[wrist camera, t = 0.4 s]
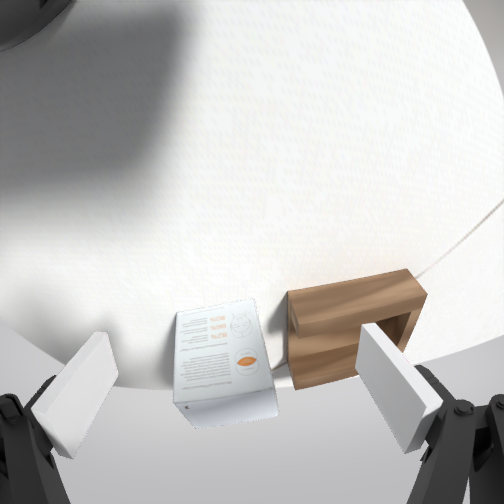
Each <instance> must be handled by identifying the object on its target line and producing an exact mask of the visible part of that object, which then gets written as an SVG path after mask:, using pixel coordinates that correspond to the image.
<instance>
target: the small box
mask: <svg viewBox="0 0 504 504" xmlns="http://www.w3.org/2000/svg"><path fill="white" fill-rule="evenodd" d="M173 403H174V404H175V406H176V407H177V408H178V409H179V411H181V413H182V414H183V415H184V417H185V418H186V419H187V420H188V421H189V422H190V423H191V425H192V426H193V427H194V428H195V429H196V428H206V427H214V426H223V425H230V424H236V423H243V422H249V421H254V420H259V419H265V418H270V417H275V416H278V415H279V409H278V402H277V396H276V391H275V385H274V381H273V377H272V373H271V368H270V364H269V360H268V355H267V351H266V347H265V342H264V338H263V334H262V329H261V325H260V321H259V316H258V312H257V308H256V303H255V299H254V298H250V299H245V300H240V301H235V302H230V303H225V304H220V305H215V306H209V307H204V308H199V309H194V310H188V311H183V312H178V313H177V315H176V333H175V354H174V377H173Z"/></svg>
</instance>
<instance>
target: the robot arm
mask: <svg viewBox="0 0 504 504" xmlns="http://www.w3.org/2000/svg"><path fill="white" fill-rule="evenodd" d="M70 1H71V0H0V51H2V50H6V49H9V48H11V47H14V46H16V45H18V44H20V43H22V42H23V41H25V40H27V39H28V38H30V37H31V36H33V35H34V34H36V33H37V32H38V31H40V30H41V29H42V28H43V27H45V26H46V25H47V24H48V23H49V22H50V21H52V20H53V19H54V18H55V17H56V16H57V15H58V14H59V13H60V12H61V11H62V10H63V9H64V8H65V7H66V6H67V5H68V4H69V3H70ZM355 369H356V370H357V372H358V374H359V375H360V377H361V379H362V380H363V382H364V384H365V385H366V387H367V389H368V391H369V392H370V394H371V396H372V398H373V399H374V401H375V403H376V404H377V406H378V408H379V410H380V411H381V413H382V415H383V417H384V418H385V420H386V422H387V424H388V425H389V427H390V429H391V431H392V432H393V434H394V436H395V438H396V440H397V441H398V443H399V445H400V447H401V449H402V451H403V452H404V454H406V453H409V452H412V451H415V450H417V449H420V448H421V446H422V444H423V442H424V440H426V441H427V443H428V444H429V446H428V448H427V450H426V451H425V453H424V455H423V457H422V458H421V460H420V461H423V462H422V465H421V468H420V470H419V473H418V476H417V479H416V481H415V484H414V487H413V489H412V492H411V494H410V497H409V499H408V501H407V504H462V502H463V499H464V494H465V490H466V486H467V481H468V477H469V486H470V504H504V394H498V395H495V396H493V397H492V398H491V400H490V402H489V404H488V405H484V406H477V407H475V406H474V405H473V404H472V403H471V402H469V401H466V400H456V399H454V397H453V396H452V395H451V394H450V392H449V391H448V390H447V389H446V388H445V387H444V386H443V385H442V384H441V383H439V380H438V379H437V378H436V377H434V375H433V374H432V373H431V371H430V370H429V369H427V368H425V367H423V366H422V365H416V366H413V365H412V364H411V362H410V361H409V360H408V359H407V358H406V357H405V356H404V354H403V353H402V352H401V351H400V350H399V349H398V348H397V347H396V346H395V344H394V343H393V342H392V341H391V340H390V339H389V338H388V337H387V335H386V334H385V333H384V332H383V331H382V330H381V329H380V328H379V327H378V326H377V324H376V323H369V324H362V326H361V334H360V341H359V347H358V353H357V359H356V365H355ZM118 375H119V373H118V370H117V366H116V363H115V360H114V356H113V353H112V349H111V345H110V341H109V338H108V334H107V332H94V333H93V335H92V336H91V337H90V338H89V339H88V340H87V341H86V342H85V344H84V345H83V346H82V347H81V348H80V349H79V351H78V352H77V353H76V354H75V355H74V356H73V357H72V359H71V360H70V361H69V362H68V363H67V365H66V366H65V367H64V368H63V369H62V370H61V372H60V373H59V374H58V375H57V376H56V375H54V376H52V377H51V378H49V379H48V380H46V381H45V383H44V384H43V385H42V386H41V388H40V389H39V390H38V391H37V393H35V395H34V396H33V397H32V398H31V400H30V401H29V402H28V403H27V404H26V406H25V407H24V408H23V407H22V405H21V403H20V401H19V399H18V397H17V396H16V395H14V394H4V395H2V396H0V504H70V501H69V499H68V496H67V494H66V491H65V489H64V486H63V483H62V481H61V478H60V475H59V472H58V469H57V467H56V463H55V460H54V457H53V455H52V454H51V452H50V451H51V449H52V448H53V447H54V448H55V450H56V451H57V453H58V454H59V455H60V456H64V457H66V458H70V459H74V457H75V455H76V453H77V451H78V449H79V447H80V445H81V443H82V441H83V439H84V437H85V436H86V434H87V432H88V430H89V428H90V426H91V424H92V422H93V420H94V419H95V417H96V415H97V413H98V411H99V409H100V408H101V406H102V404H103V402H104V400H105V398H106V397H107V395H108V393H109V391H110V389H111V388H112V386H113V384H114V382H115V381H116V379H117V377H118Z"/></svg>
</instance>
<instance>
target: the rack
mask: <svg viewBox="0 0 504 504" xmlns="http://www.w3.org/2000/svg"><path fill="white" fill-rule="evenodd" d="M427 295H428V294H427V293H426V291H425V290H424V289H423V288H422V286H421V285H420V284H419V283H418V281H417V280H416V279H415V278H414V277H413V275H412V274H411V273H410V272H409V271H408V269H403V270H398V271H393V272H389V273H384V274H379V275H374V276H369V277H364V278H359V279H354V280H349V281H343V282H338V283H333V284H327V285H322V286H316V287H310V288H305V289H299V290H293V291H288V334H287V362H288V366H289V370H290V373H291V377H292V381H293V385H294V388H295V390H299V389H304V388H308V387H313V386H317V385H322V384H325V383H330V382H334V381H338V380H342V379H345V378H349V377H353V376H356V375H359V374H358V372H357V370H356V369H355V365H356V359H357V353H358V347H359V341H360V334H361V326H362V324H369V323H376V324H377V326H378V327H379V328H380V329H381V330H382V331H383V332H384V333H385V334H386V335H387V337H388V338H389V339H390V340H391V341H392V342H393V343H394V344H395V346H396V347H397V348H398V349H399V350H400V351H401V352H402V353H403V351H404V349H405V347H406V345H407V343H408V341H409V339H410V336H411V334H412V332H413V329H414V327H415V325H416V322H417V320H418V318H419V315H420V313H421V310H422V308H423V305H424V303H425V300H426V297H427Z"/></svg>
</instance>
